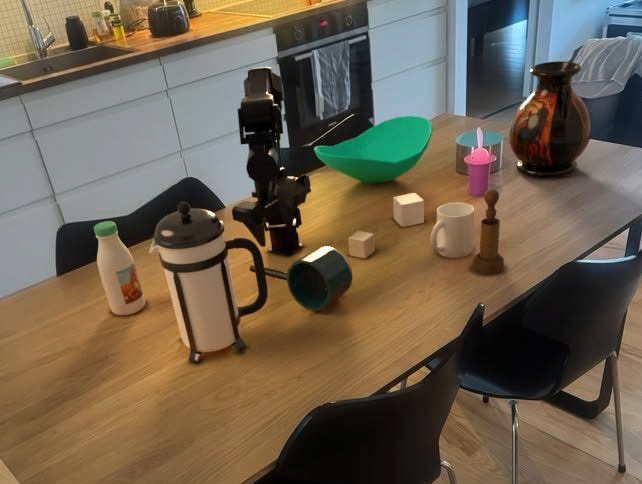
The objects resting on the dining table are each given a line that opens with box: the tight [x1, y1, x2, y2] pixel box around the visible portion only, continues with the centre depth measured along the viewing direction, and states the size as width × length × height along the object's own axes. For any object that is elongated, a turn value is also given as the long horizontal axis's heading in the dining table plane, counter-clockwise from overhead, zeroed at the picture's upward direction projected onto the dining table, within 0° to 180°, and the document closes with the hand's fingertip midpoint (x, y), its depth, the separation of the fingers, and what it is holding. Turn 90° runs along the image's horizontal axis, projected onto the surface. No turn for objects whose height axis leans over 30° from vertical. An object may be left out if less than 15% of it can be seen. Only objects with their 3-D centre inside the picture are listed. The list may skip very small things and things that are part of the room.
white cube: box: [392, 192, 425, 228], centre depth 175 cm, size 6×6×6 cm
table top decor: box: [313, 115, 433, 185], centre depth 200 cm, size 40×28×13 cm
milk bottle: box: [93, 220, 146, 316], centre depth 148 cm, size 8×8×20 cm
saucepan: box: [249, 246, 354, 312], centre depth 146 cm, size 11×22×8 cm
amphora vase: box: [508, 61, 592, 180], centre depth 187 cm, size 22×22×28 cm
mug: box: [429, 202, 475, 259], centre depth 156 cm, size 12×8×10 cm
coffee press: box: [148, 201, 269, 364], centre depth 129 cm, size 17×16×30 cm
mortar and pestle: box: [472, 188, 505, 275], centre depth 146 cm, size 7×6×18 cm
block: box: [347, 230, 376, 259], centre depth 163 cm, size 4×4×4 cm
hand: (276, 237), depth 144 cm, fingers open, 9 cm apart
